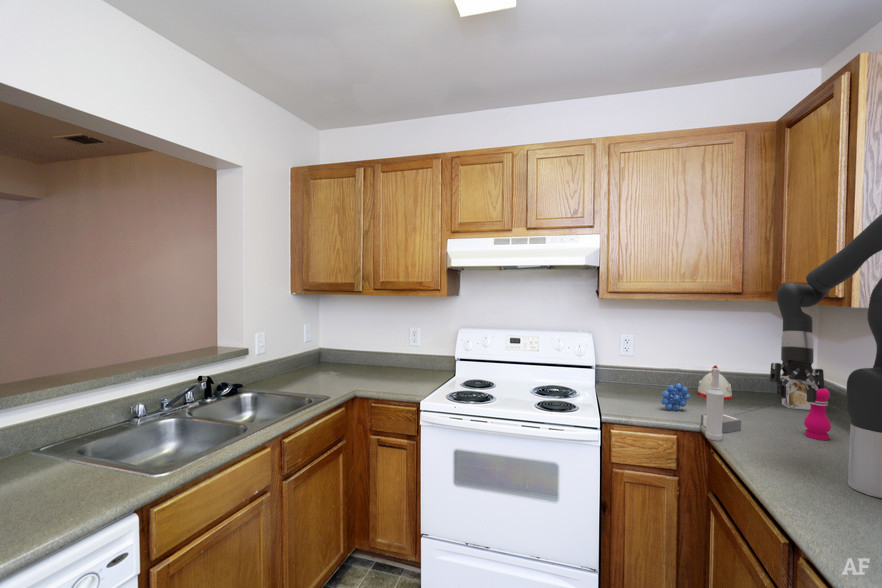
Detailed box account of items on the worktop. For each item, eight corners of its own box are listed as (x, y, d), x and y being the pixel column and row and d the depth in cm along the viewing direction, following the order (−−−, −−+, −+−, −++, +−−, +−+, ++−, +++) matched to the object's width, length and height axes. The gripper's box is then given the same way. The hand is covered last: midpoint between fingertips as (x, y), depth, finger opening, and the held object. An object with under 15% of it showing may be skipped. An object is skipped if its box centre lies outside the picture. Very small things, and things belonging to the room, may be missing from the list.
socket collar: (740, 430, 154) (741, 420, 153) (722, 433, 151) (723, 422, 151) (718, 422, 162) (718, 412, 162) (700, 424, 159) (701, 414, 159)
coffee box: (805, 406, 184) (806, 370, 183) (813, 410, 178) (815, 374, 177) (781, 404, 187) (782, 369, 186) (788, 408, 180) (789, 372, 180)
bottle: (706, 434, 150) (708, 366, 149) (723, 437, 147) (725, 368, 146) (704, 438, 146) (706, 369, 145) (721, 442, 143) (724, 371, 142)
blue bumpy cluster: (684, 407, 181) (685, 381, 180) (692, 412, 174) (692, 385, 173) (656, 407, 182) (657, 380, 181) (663, 411, 175) (664, 384, 175)
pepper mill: (801, 436, 148) (803, 381, 147) (805, 431, 153) (807, 378, 152) (828, 442, 143) (831, 385, 142) (832, 437, 147) (834, 382, 147)
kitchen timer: (693, 395, 200) (694, 365, 199) (702, 390, 209) (703, 361, 209) (727, 402, 190) (728, 370, 189) (735, 396, 199) (736, 366, 198)
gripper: (783, 343, 123) (782, 398, 121) (832, 350, 122) (832, 405, 120) (764, 344, 130) (763, 395, 128) (810, 350, 130) (810, 402, 127)
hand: (796, 400), depth 124 cm, fingers open, 8 cm apart
